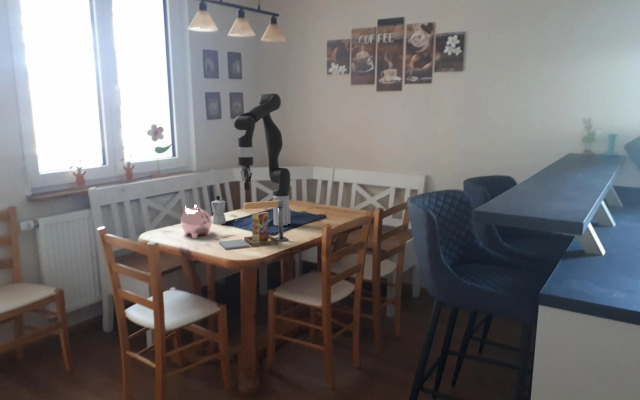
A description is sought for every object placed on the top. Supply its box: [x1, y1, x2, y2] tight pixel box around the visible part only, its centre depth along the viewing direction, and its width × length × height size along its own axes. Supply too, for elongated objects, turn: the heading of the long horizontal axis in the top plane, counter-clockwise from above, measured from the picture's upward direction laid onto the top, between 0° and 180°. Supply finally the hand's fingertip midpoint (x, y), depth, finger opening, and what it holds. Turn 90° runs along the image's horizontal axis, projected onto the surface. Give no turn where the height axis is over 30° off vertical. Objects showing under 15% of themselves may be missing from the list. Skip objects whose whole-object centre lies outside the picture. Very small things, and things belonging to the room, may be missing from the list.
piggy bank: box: [180, 204, 213, 239], centre depth 275 cm, size 15×18×16 cm
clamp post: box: [274, 207, 289, 243], centre depth 262 cm, size 6×6×18 cm
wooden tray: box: [243, 234, 279, 248], centre depth 259 cm, size 14×14×2 cm
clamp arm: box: [243, 200, 283, 210], centre depth 257 cm, size 21×3×3 cm, turn 114°
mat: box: [218, 238, 250, 251], centre depth 254 cm, size 12×14×1 cm
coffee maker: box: [210, 195, 227, 225], centre depth 301 cm, size 15×9×18 cm, turn 161°
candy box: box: [251, 211, 269, 242], centre depth 258 cm, size 9×4×15 cm, turn 151°
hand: (246, 189), depth 258 cm, fingers closed
